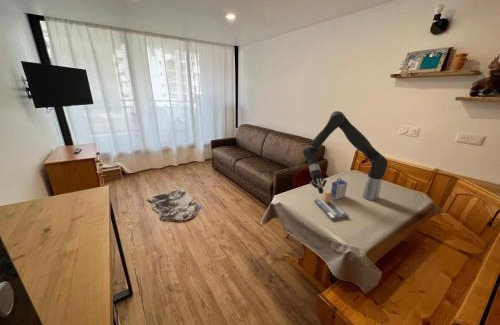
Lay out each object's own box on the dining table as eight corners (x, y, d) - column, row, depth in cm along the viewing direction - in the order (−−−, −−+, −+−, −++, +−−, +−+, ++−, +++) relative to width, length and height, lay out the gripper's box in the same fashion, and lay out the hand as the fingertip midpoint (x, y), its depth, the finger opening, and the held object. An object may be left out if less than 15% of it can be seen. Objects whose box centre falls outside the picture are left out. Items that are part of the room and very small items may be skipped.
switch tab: (326, 200, 143) (328, 190, 140) (328, 202, 140) (330, 192, 137) (322, 201, 142) (324, 191, 139) (324, 203, 139) (326, 193, 136)
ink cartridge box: (339, 193, 156) (342, 176, 151) (345, 197, 152) (348, 179, 146) (329, 196, 153) (332, 179, 147) (335, 199, 148) (338, 182, 143)
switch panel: (329, 200, 147) (330, 196, 146) (348, 218, 128) (349, 213, 127) (314, 202, 145) (314, 198, 143) (331, 220, 126) (331, 215, 124)
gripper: (309, 169, 147) (315, 192, 141) (325, 168, 150) (332, 190, 143) (305, 173, 154) (310, 195, 148) (320, 172, 157) (327, 193, 150)
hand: (321, 193), depth 145 cm, fingers closed
